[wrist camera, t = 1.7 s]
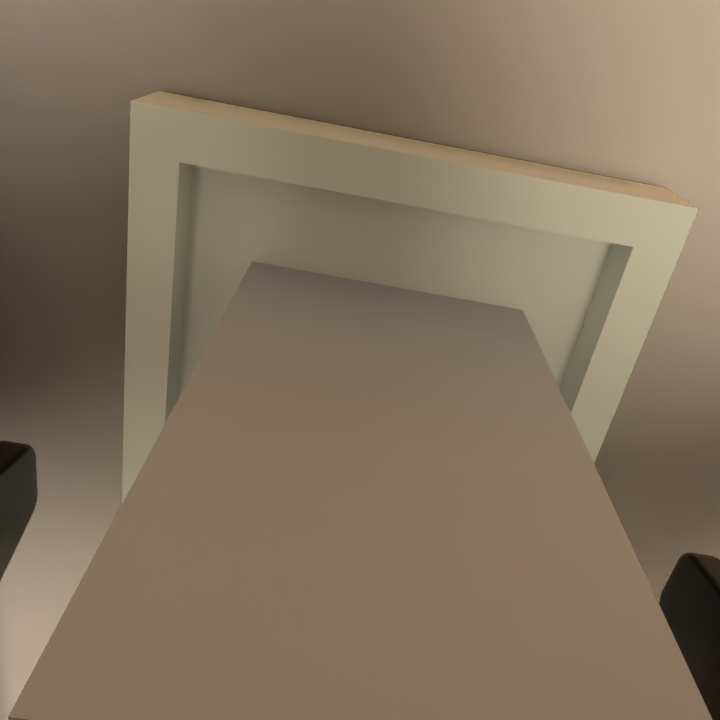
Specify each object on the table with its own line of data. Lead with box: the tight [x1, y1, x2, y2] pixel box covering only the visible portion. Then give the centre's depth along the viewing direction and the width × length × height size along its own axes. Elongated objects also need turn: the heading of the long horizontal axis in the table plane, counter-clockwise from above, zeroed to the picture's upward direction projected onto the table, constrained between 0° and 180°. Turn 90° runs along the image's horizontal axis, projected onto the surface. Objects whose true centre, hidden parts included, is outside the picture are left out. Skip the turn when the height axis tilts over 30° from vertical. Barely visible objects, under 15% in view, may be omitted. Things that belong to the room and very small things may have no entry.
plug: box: [8, 261, 712, 720], centre depth 8 cm, size 4×4×8 cm
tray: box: [122, 91, 699, 504], centre depth 12 cm, size 9×8×1 cm
